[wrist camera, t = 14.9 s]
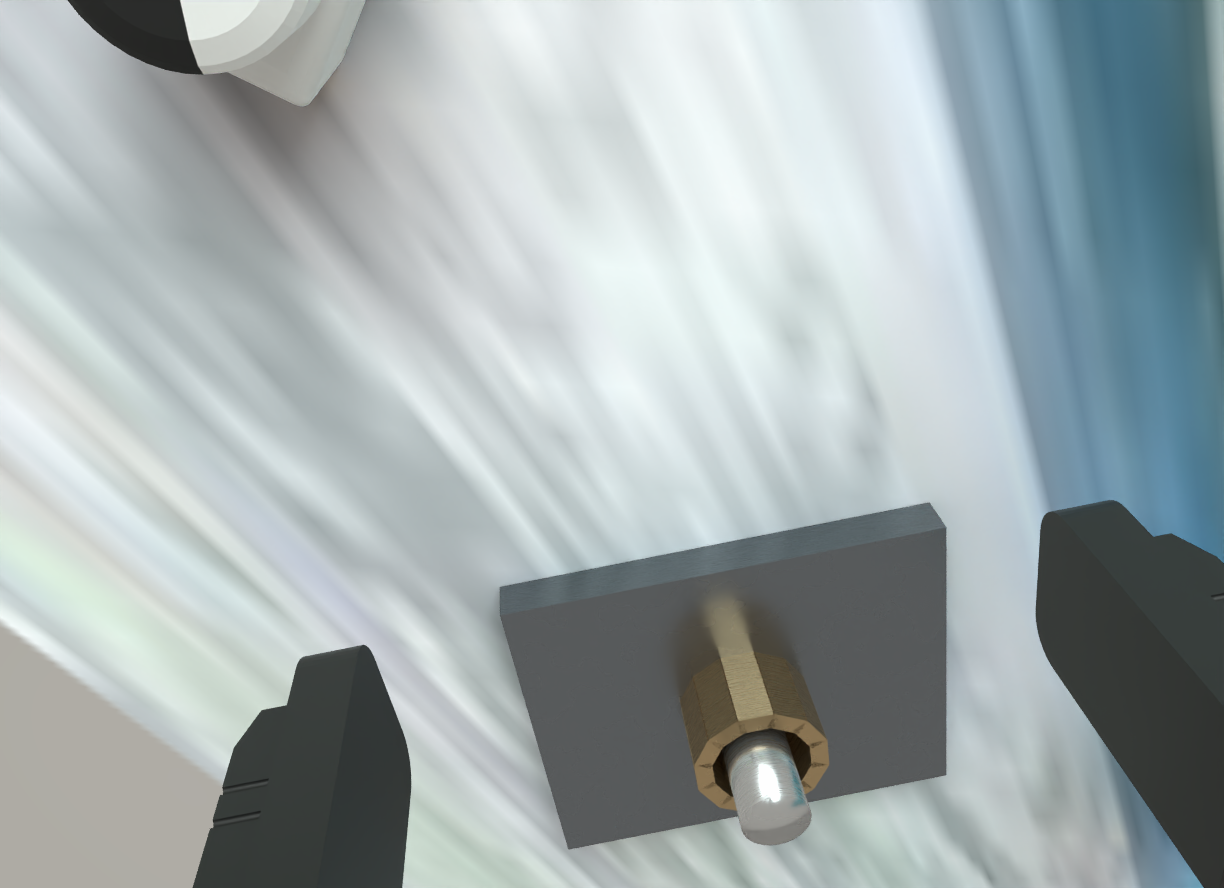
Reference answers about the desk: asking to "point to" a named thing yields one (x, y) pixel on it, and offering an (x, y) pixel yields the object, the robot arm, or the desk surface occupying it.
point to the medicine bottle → (233, 38)
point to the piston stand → (726, 626)
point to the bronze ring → (750, 718)
